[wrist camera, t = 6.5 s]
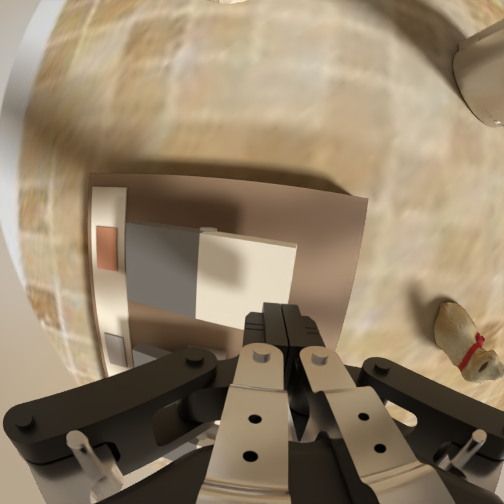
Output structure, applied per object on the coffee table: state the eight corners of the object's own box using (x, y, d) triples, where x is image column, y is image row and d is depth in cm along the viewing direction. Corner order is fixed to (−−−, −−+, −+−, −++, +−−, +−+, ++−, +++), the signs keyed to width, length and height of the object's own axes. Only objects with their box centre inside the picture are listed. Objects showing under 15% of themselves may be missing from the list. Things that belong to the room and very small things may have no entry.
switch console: (108, 173, 20) (77, 173, 15) (353, 196, 20) (378, 200, 16) (131, 422, 27) (120, 447, 22) (290, 445, 27) (293, 473, 22)
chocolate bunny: (426, 364, 24) (468, 420, 14) (435, 303, 22) (496, 354, 12) (460, 350, 24) (505, 396, 14) (471, 291, 22) (531, 330, 12)
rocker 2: (154, 413, 21) (145, 424, 19) (258, 446, 19) (253, 460, 17) (160, 442, 22) (153, 452, 21) (251, 471, 20) (247, 484, 19)
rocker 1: (141, 218, 17) (126, 221, 15) (298, 240, 15) (296, 246, 13) (141, 291, 18) (127, 300, 16) (284, 324, 16) (280, 338, 14)
